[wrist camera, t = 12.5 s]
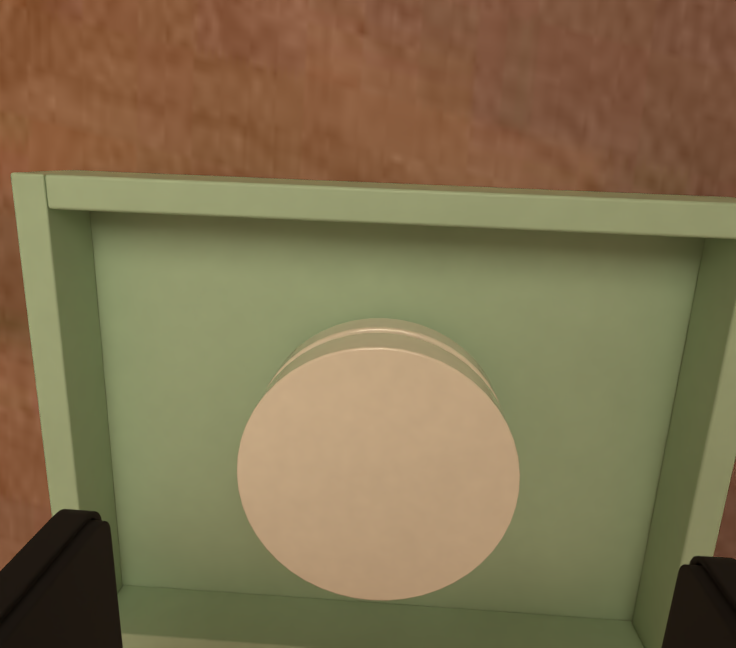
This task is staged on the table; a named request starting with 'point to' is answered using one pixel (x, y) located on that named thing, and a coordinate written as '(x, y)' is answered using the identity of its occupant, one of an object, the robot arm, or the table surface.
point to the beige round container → (379, 462)
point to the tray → (394, 301)
